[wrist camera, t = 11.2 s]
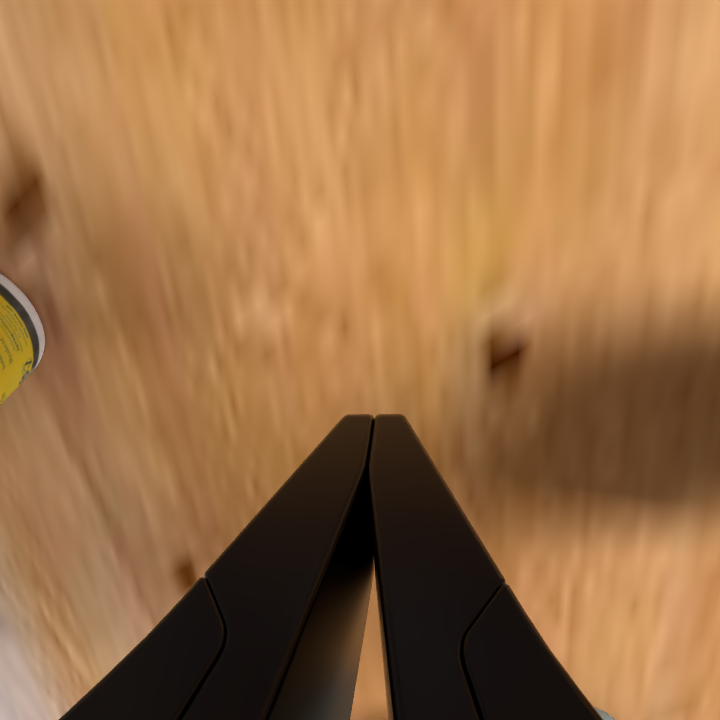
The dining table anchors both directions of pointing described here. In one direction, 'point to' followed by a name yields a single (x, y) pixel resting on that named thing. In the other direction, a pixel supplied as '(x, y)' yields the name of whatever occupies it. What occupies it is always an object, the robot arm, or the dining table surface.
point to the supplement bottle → (17, 338)
